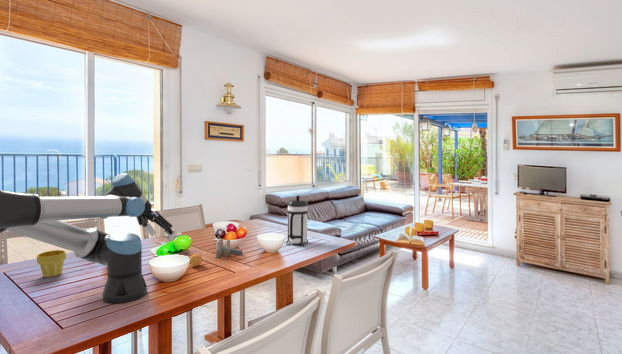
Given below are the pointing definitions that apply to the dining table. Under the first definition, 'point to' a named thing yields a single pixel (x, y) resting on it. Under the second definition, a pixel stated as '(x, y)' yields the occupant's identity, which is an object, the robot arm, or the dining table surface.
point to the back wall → (234, 251)
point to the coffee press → (297, 221)
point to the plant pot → (51, 262)
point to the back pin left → (221, 245)
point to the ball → (195, 260)
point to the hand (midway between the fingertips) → (163, 236)
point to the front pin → (218, 249)
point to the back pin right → (227, 248)
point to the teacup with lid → (174, 238)
